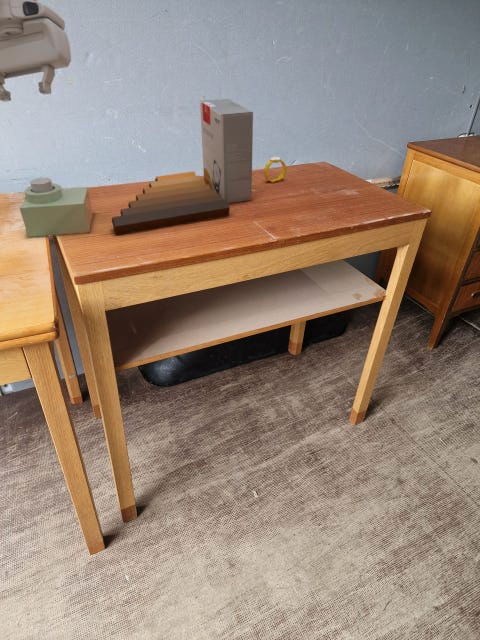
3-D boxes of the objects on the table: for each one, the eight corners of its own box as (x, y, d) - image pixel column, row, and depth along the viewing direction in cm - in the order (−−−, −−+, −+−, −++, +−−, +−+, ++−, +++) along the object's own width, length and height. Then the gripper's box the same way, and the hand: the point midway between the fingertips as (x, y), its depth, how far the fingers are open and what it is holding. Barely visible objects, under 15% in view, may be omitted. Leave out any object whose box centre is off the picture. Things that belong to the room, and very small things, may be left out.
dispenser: (28, 237, 90) (16, 198, 85) (36, 218, 97) (26, 181, 93) (89, 232, 91) (81, 194, 87) (92, 213, 99) (85, 178, 95)
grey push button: (31, 194, 88) (28, 184, 87) (34, 188, 91) (31, 178, 90) (52, 193, 88) (49, 183, 87) (55, 186, 92) (52, 177, 90)
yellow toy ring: (281, 177, 120) (282, 155, 116) (287, 180, 118) (288, 157, 114) (262, 181, 118) (263, 158, 114) (267, 184, 116) (268, 161, 112)
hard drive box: (203, 184, 116) (199, 100, 104) (230, 180, 118) (229, 98, 106) (222, 205, 104) (220, 113, 92) (252, 200, 106) (254, 110, 94)
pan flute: (116, 236, 90) (229, 216, 98) (114, 220, 88) (229, 201, 96) (96, 196, 108) (192, 182, 117) (93, 182, 106) (192, 169, 115)
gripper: (-41, 23, 85) (-32, 99, 87) (50, 1, 79) (58, 82, 81) (-15, 38, 91) (-6, 109, 93) (71, 19, 86) (79, 94, 87)
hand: (25, 97), depth 87 cm, fingers open, 8 cm apart
